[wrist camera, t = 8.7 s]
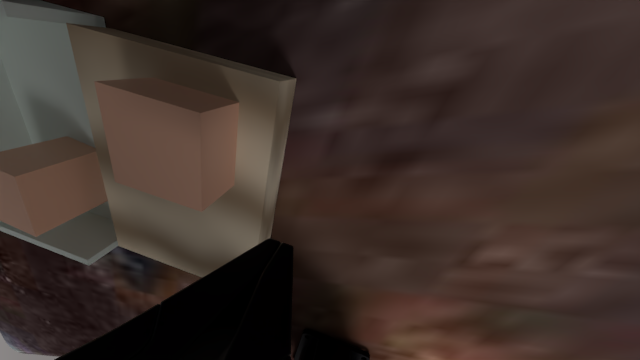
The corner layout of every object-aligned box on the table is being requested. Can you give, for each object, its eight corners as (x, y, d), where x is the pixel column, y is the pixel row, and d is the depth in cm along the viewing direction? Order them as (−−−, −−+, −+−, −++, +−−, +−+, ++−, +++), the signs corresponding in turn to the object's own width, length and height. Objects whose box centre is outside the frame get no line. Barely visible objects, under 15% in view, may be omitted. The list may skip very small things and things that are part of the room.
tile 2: (36, 236, 17) (-1, 220, 17) (107, 200, 21) (78, 187, 21) (14, 176, 14) (-28, 158, 15) (100, 150, 19) (67, 136, 19)
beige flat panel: (264, 271, 21) (251, 295, 19) (144, 227, 22) (118, 245, 20) (296, 78, 14) (279, 81, 11) (112, 28, 15) (66, 22, 13)
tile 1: (234, 185, 15) (201, 211, 12) (161, 161, 15) (115, 181, 13) (239, 102, 12) (200, 113, 10) (152, 77, 13) (94, 81, 10)
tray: (140, 230, 23) (89, 265, 19) (55, 199, 24) (-11, 226, 20) (103, 17, 15) (1, 0, 11) (-23, -17, 16) (-159, -43, 12)
